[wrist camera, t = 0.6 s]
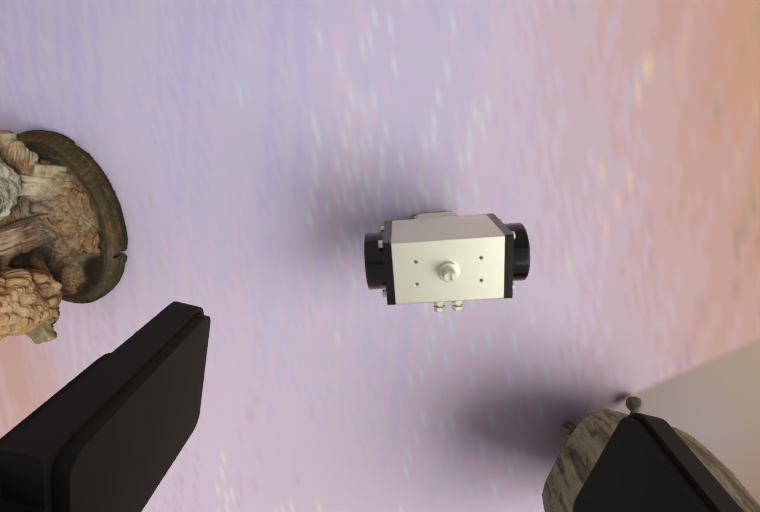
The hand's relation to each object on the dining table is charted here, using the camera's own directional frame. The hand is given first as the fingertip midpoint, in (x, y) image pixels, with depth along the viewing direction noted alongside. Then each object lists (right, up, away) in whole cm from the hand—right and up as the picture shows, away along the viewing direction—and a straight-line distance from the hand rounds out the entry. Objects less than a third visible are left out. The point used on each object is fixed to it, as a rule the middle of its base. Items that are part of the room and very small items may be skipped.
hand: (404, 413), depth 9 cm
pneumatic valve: (+5, +6, +29) cm, 30 cm away
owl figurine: (-31, +7, +31) cm, 44 cm away
